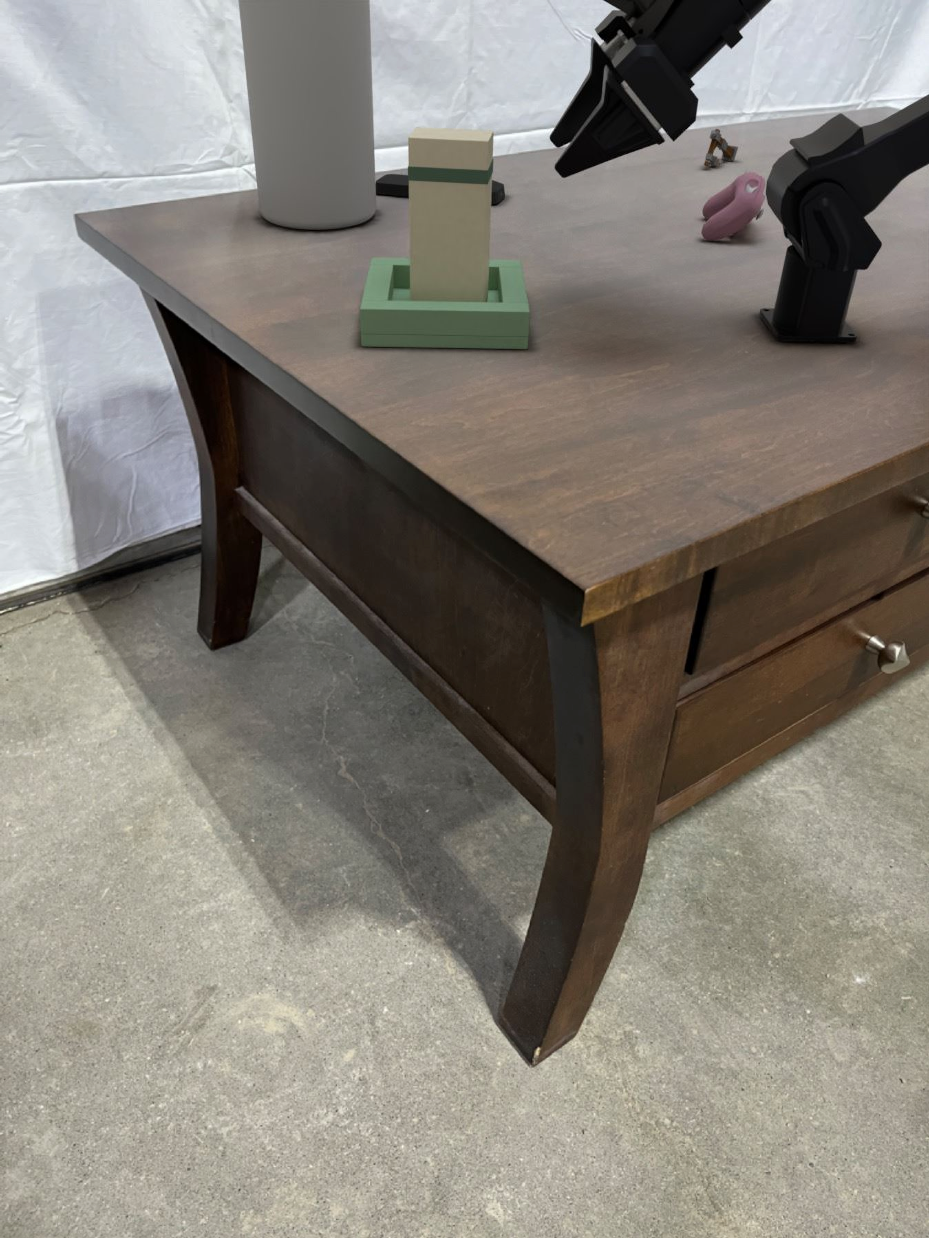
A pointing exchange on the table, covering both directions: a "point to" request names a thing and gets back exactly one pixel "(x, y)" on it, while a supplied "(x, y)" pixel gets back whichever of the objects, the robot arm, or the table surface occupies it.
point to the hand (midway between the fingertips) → (555, 157)
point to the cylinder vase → (311, 110)
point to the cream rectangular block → (449, 213)
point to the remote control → (400, 187)
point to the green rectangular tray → (443, 311)
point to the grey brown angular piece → (721, 143)
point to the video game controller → (734, 207)
